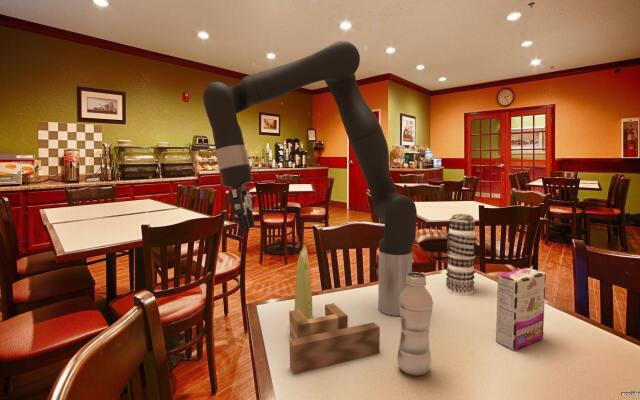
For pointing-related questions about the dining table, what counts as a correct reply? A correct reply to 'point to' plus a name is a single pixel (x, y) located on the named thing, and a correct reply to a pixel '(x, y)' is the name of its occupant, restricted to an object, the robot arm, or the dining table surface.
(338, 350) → the wooden plank
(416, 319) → the plastic bottle
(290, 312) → the block
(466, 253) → the decorative candle
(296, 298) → the tube
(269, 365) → the dining table surface
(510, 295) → the candy bar box
